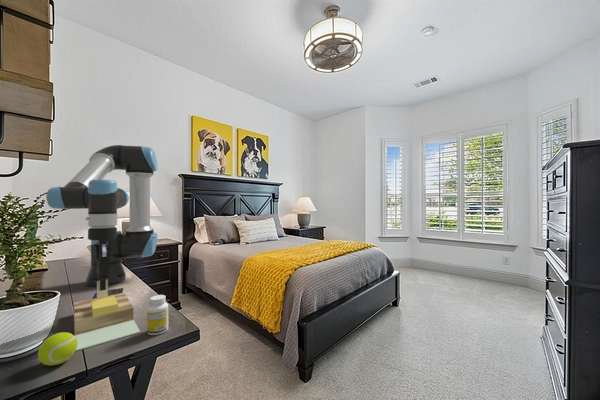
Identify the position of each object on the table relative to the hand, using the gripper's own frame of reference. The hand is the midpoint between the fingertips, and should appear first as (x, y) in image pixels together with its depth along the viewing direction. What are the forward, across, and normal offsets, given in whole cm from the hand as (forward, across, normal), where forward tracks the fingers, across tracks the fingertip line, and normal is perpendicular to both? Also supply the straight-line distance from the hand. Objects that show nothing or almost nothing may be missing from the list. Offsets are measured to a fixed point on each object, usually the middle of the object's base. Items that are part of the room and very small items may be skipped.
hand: (102, 299), depth 84 cm
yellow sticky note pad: (+2, +5, 0) cm, 5 cm away
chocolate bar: (+6, -20, +3) cm, 22 cm away
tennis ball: (+6, +24, -10) cm, 26 cm away
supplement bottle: (+6, +23, +11) cm, 26 cm away
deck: (+6, +1, 0) cm, 6 cm away
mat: (+6, +15, 0) cm, 16 cm away
